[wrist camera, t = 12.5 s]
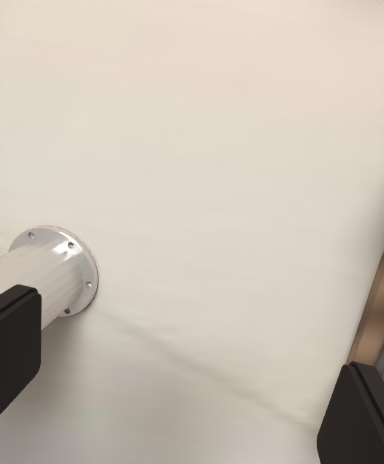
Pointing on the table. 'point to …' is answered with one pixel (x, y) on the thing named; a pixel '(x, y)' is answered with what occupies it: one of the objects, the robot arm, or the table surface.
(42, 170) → the table surface
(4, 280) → the robot arm
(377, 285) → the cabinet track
